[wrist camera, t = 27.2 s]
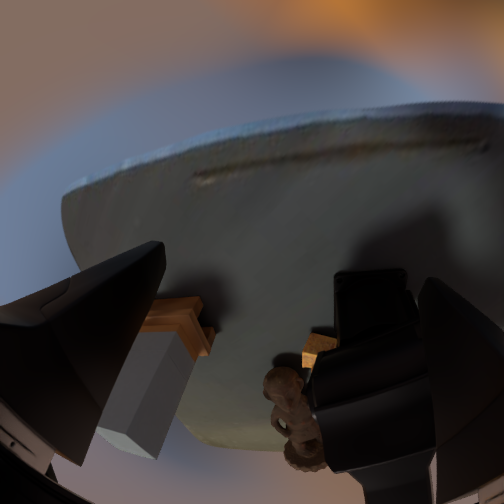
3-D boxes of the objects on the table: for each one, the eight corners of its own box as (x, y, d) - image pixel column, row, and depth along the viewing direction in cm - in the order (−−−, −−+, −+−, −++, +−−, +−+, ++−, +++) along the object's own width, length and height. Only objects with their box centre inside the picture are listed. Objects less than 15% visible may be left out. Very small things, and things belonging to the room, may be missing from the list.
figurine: (294, 482, 31) (243, 400, 25) (280, 447, 38) (233, 359, 33) (352, 456, 32) (328, 363, 26) (332, 424, 39) (303, 330, 34)
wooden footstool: (199, 294, 28) (188, 315, 25) (216, 335, 30) (208, 356, 27) (128, 300, 30) (115, 317, 27) (148, 336, 32) (137, 353, 30)
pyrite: (347, 322, 28) (353, 337, 24) (351, 377, 28) (356, 398, 24) (299, 329, 29) (297, 346, 25) (306, 384, 29) (305, 405, 25)
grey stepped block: (180, 323, 26) (125, 434, 15) (198, 355, 28) (157, 460, 17) (118, 326, 28) (60, 413, 18) (137, 354, 30) (90, 440, 19)
